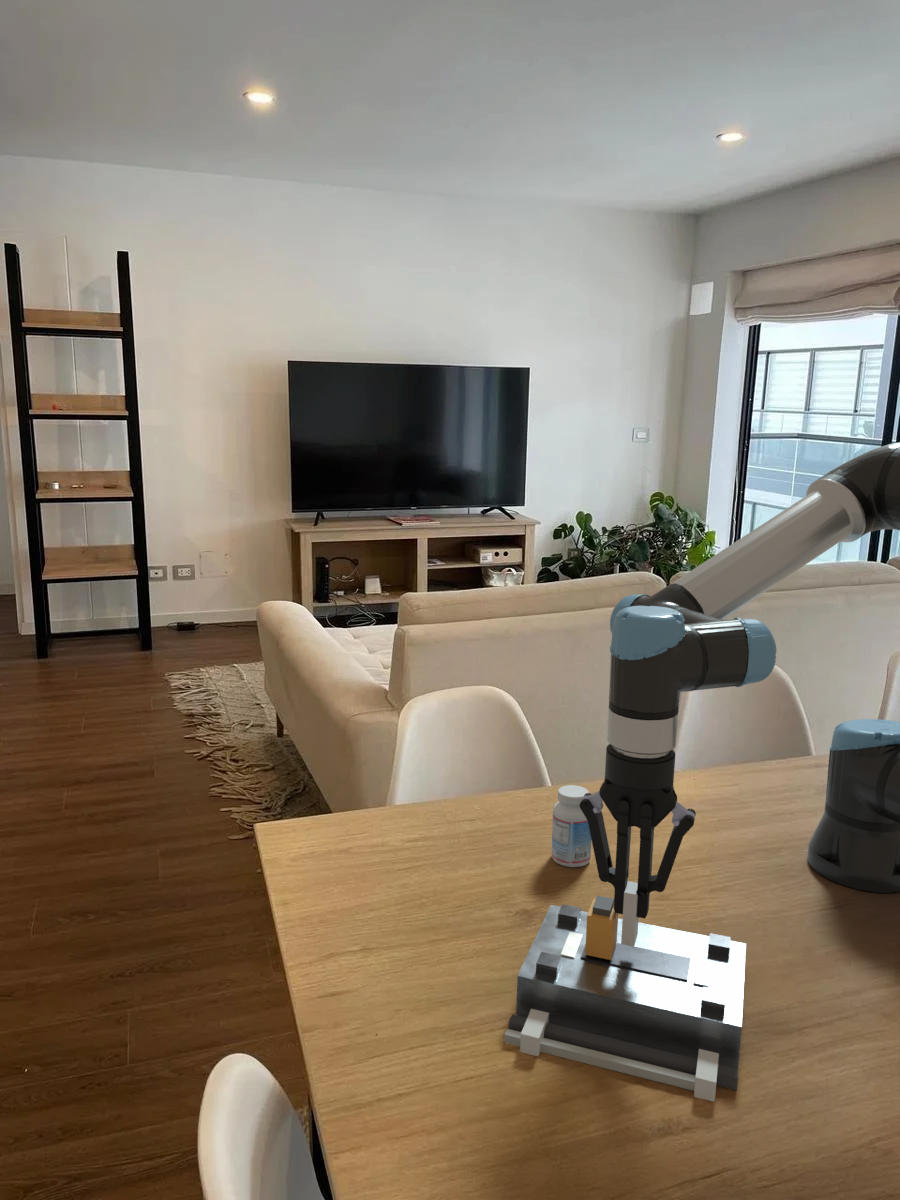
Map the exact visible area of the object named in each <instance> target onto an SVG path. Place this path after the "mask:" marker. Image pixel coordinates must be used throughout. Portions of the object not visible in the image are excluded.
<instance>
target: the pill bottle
mask: <svg viewBox="0 0 900 1200" xmlns="http://www.w3.org/2000/svg"><path fill="white" fill-rule="evenodd" d="M586 793H590V791H589V790H588V789H587V788H585V787H584V786H579V785H574V784H570V785H564V786H561V787H559V789H558V790H557V799H558V801H557V802H556V803H555V804H554V806H553V808H552V827H551V828H552V830H551V831H552V833H551V834H552V835H551V857H552V859H553V862H555V863H556V864H557V865H558V864H559V865H560V866H563V867H567V868H579V867H584V866H587V864H588V863H590V861H591V858H592V840H591V835H590V830H589V825H588V820H587V819H586V817H585V815H584V814H583V812H582V810H581V809H580V803H581V800H582V799H583V797H584V795H585V794H586Z"/></svg>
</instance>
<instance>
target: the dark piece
mask: <svg viewBox="0 0 900 1200" xmlns="http://www.w3.org/2000/svg"><path fill="white" fill-rule="evenodd" d="M548 1022H549V1013H547V1012H543V1011H539V1010H535V1009H531V1010H530V1013H529V1015H528V1018H526V1017H522V1016H518V1015H516V1014H511V1016H510V1019H509V1020H508V1027H507V1028H506V1030H505V1032H504V1038H503V1040H504V1044H508V1045H513V1046H515V1047H519V1052H520V1053H521V1054H522V1053H523V1054H526V1055H531V1056H535V1057H540V1054H541V1053H543V1054H547V1055H551V1056H556V1057H560V1058H564V1059H568V1060H570V1061H571V1060H572V1061H575V1062H580V1063H583V1064H587V1065H591V1066H594V1067H599V1068H603V1069H607V1070H610V1071H615V1072H619V1073H621V1074H626V1075H630V1076H634V1077H638V1078H642V1079H646V1080H650V1081H652V1082H653V1081H654V1082H658V1083H661V1084H665V1085H670V1086H674V1087H678V1088H681V1089H684V1090H689V1091H693V1097H694V1098H697V1099H701V1100H702V1099H703V1100H704V1101H705V1100H706V1101H710V1102H714V1103H715V1102H716V1093H717V1086H718V1087H722V1088H725V1089H729V1090H733V1091H738V1080H739V1068H738V1069H736V1068H732V1067H728V1066H724V1065H719V1064H718V1058H719V1053H715V1052H711V1051H706V1050H702V1049H699V1052H698V1059H695V1058H691V1057H687V1056H682V1055H678V1054H674V1053H670V1052H666V1051H662V1050H658V1049H654V1048H649V1047H645V1046H641V1045H637V1044H633V1043H629V1042H625V1041H621V1040H616V1039H612V1038H608V1037H604V1036H600V1035H596V1034H592V1033H588V1032H584V1031H579V1030H575V1029H571V1028H567V1027H563V1026H559V1025H555V1024H551V1023H548Z"/></svg>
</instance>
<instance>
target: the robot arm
mask: <svg viewBox="0 0 900 1200" xmlns="http://www.w3.org/2000/svg"><path fill="white" fill-rule="evenodd" d="M882 530H896V531H900V441H899V442H893V443H889V444H886V445H883V446H879V447H876V448H873V449H871V450H869V451H867V452H865V453H862V454H860V455H858V456H856V457H854V458H852V459H850V460H848V461H846V462H844V463H843V464H841V465H839V466H837V467H835V468H833V469H831V470H830V471H829V472H827V473H825V474H824V475H822V476H821V477H819V478H818V479H816V480H814V481H813V482H812V483H811V484H810V485H809V486H808V488H807V490H806V494H805V496H803V498H801V499H800V500H798V501H796V502H795V503H793V504H791V505H790V506H789V507H787V508H785V509H784V510H783V511H781V512H778V514H776V515H775V516H773V517H772V518H770V519H768V520H767V521H766V522H764V523H762V524H761V525H759V526H757V528H755V529H753V530H751V531H750V532H749V533H747V534H745V535H744V536H742V537H741V538H739V539H738V540H736V541H735V542H732V543H731V544H730V545H728V546H727V547H725V548H724V549H722V550H721V551H719V552H717V553H715V555H713V556H711V557H710V558H708V559H707V560H705V561H704V562H703V563H700V564H699V565H698V566H696V567H694V568H693V569H692V570H690V571H688V572H687V573H685V574H684V575H682V576H681V577H679V578H678V579H676V580H675V581H673V582H671V583H669V585H667V586H665V587H663V588H662V589H660V590H659V591H657V592H655V593H654V594H653V595H649V594H645V593H644V594H642V593H640V594H639V593H638V594H635V593H634V594H629V595H627V596H625V597H622V598H621V599H620V600H619V601H618V602H617V604H616V605H615V606H614V608H613V610H612V612H611V615H610V619H609V629H610V633H611V643H610V646H609V653H610V669H609V670H610V671H609V691H608V692H609V695H608V706H607V707H608V708H607V709H608V710H607V725H606V727H607V728H606V741H607V743H608V745H606V748H605V749H606V750H605V766H604V767H605V769H604V780H603V782H602V784H601V785H600V787H599V790H598V791H596V792H593V793H590V792H589V793H586V794H585V795H584V797H583V799H582V800H581V803H580V809H581V810H582V812H583V814H584V815H585V817H586V819H587V820H588V825H589V830H590V835H591V846H592V849H593V853H594V859H595V863H596V864H595V865H596V868H597V874H598V879H599V880H600V881H601V882H603V883H609V884H611V886H613V888H614V895H613V897H614V898H613V899H614V911H615V913H618V915H622V919H623V920H622V938H621V944H623V945H628V946H633V947H634V945H635V942H636V938H637V935H638V922H639V918H640V919H644V920H645V919H646V917H647V916H648V913H649V909H650V895H651V893H652V892H658V893H662V892H664V891H665V890H666V886H667V883H668V880H669V878H670V874H671V872H672V869H673V866H674V864H675V861H676V858H677V855H678V853H679V849H680V847H681V843H682V841H683V838H684V836H686V834H687V833H688V832H689V830H691V828H693V826H694V825H695V820H696V816H697V813H696V811H695V809H693V808H688V809H687V807H685V806H684V805H682V804H681V803H680V802H679V801H678V796H677V793H676V791H675V788H674V783H675V768H676V767H675V764H676V752H675V751H674V749H675V748H676V746H677V738H678V737H677V735H678V732H677V731H678V722H679V721H678V719H679V707H680V700H681V699H680V697H681V693H682V692H684V693H685V692H687V693H688V692H693V691H703V690H711V689H722V688H729V687H730V688H732V687H735V688H741V687H743V686H746V685H750V684H755V683H760V682H762V681H764V680H766V679H767V678H768V677H769V676H770V675H771V673H772V672H773V670H774V668H775V666H776V659H777V655H776V654H777V644H776V641H775V638H774V636H773V634H772V632H771V630H770V628H769V627H768V626H767V625H766V624H764V623H763V622H762V621H760V620H758V619H755V618H741V617H734V618H733V619H726V618H728V617H730V616H732V615H733V614H734V613H736V612H737V611H738V610H740V609H742V608H743V607H744V606H746V605H747V604H749V603H750V602H752V601H754V600H755V599H756V598H758V597H760V596H761V595H762V594H764V593H766V592H767V591H769V590H770V589H772V588H773V587H775V586H776V585H778V584H779V583H781V582H782V581H783V580H785V579H787V578H788V577H789V576H791V575H793V574H794V573H795V572H797V571H798V570H800V569H802V568H803V567H804V566H806V565H807V564H809V563H811V562H812V561H814V560H815V559H816V558H818V557H820V556H821V555H822V554H824V553H825V552H827V551H828V550H830V549H831V548H833V547H834V546H835V545H837V544H839V543H853V542H855V541H857V540H859V539H860V538H861V537H863V536H864V535H866V534H868V533H872V532H875V531H882ZM831 738H832V740H831V743H830V746H829V757H828V768H827V769H828V770H827V780H826V781H827V782H826V791H825V792H826V793H825V804H824V811H823V815H822V816H821V818H820V819H819V822H818V824H817V826H816V828H815V830H814V833H813V834H812V836H811V838H810V840H809V842H808V848H807V857H806V858H807V862H808V864H809V865H810V867H811V868H812V869H813V870H814V871H816V872H817V873H818V874H819V875H821V876H823V877H824V878H826V879H828V880H830V881H831V882H834V883H837V884H839V885H843V886H845V887H849V888H850V889H851V888H852V889H856V890H860V891H864V892H872V893H884V894H885V893H896V892H897V893H899V892H900V721H898V720H889V719H880V718H879V719H874V718H870V719H869V718H866V719H865V718H861V719H851V720H846V721H844V722H843V721H842V722H841V723H839V724H838V725H837V726H835V728H834V730H833V732H832V737H831ZM603 803H604V804H603ZM604 805H605V806H606V808H607V809H608V811H609V813H610V814H611V816H612V817H613V819H614V820H615V821H616V822H617V823H616V850H615V851H616V853H615V867H614V866H613V861H612V855H611V851H610V845H609V841H608V836H607V835H608V834H607V831H606V830H607V829H606V826H605V821H604V815H603V812H602V811H603V808H604ZM670 813H672V818H671V823H672V824H673V828H672V830H671V833H670V836H669V839H668V843H667V845H666V848H665V850H664V854H663V857H662V858H661V859H662V860H661V862H660V865H659V868H658V871H657V873H656V874H653V875H652V873H653V872H652V869H653V854H654V839H655V838H654V837H655V828H656V827H657V826H659V824H660V823H661V822H662V821H663V820H665V818H666V817H667V816H668V815H670ZM633 827H636V828H638V829H639V838H640V839H639V853H638V854H639V856H638V871H637V873H638V874H637V882H635V881H630V880H629V875H630V873H629V871H630V870H629V869H630V868H629V867H630V857H631V856H630V855H631V854H630V853H631V838H632V828H633Z"/></svg>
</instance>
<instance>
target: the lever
mask: <svg viewBox="0 0 900 1200" xmlns="http://www.w3.org/2000/svg"><path fill="white" fill-rule="evenodd" d="M587 912H588V914H587V928H586V948H585V955H589V956H594V957H599V958H603V959H608V960H611V959H612V955H613V952H614V949H615V946H616V942H617V928H618V918H619V914H618V913H615V911H614V898H613V897H607V896H603V895H602V896H601V895H599V894H598V895H596V898H595V897H593V900H592V901H591V904H590V907H589V909H588V911H587Z"/></svg>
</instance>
